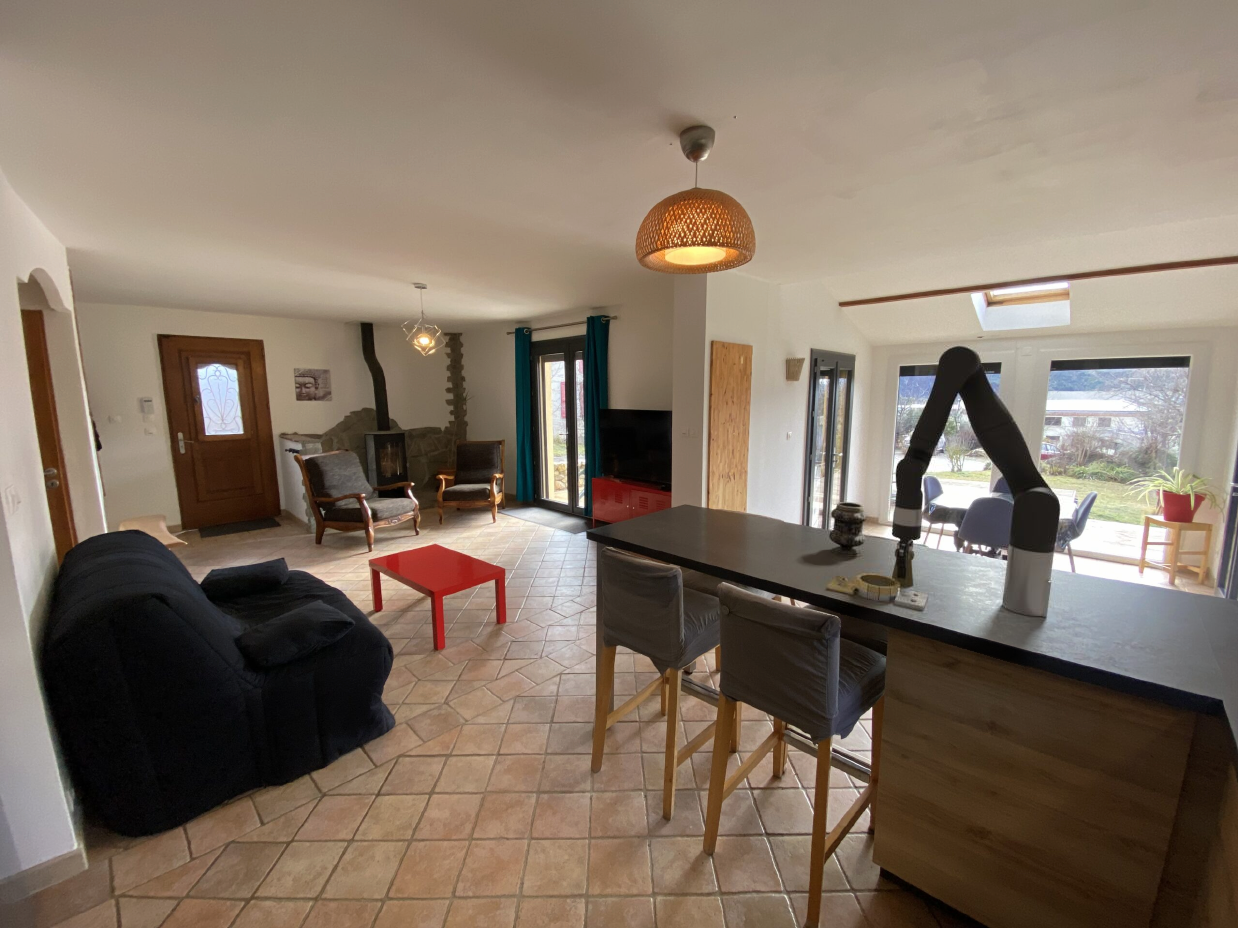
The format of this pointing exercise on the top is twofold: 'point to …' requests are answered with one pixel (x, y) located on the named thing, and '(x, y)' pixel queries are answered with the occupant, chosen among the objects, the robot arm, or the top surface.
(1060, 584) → the top surface
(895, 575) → the cork
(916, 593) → the steel hinge leaf
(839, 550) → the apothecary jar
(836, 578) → the brass hinge leaf
